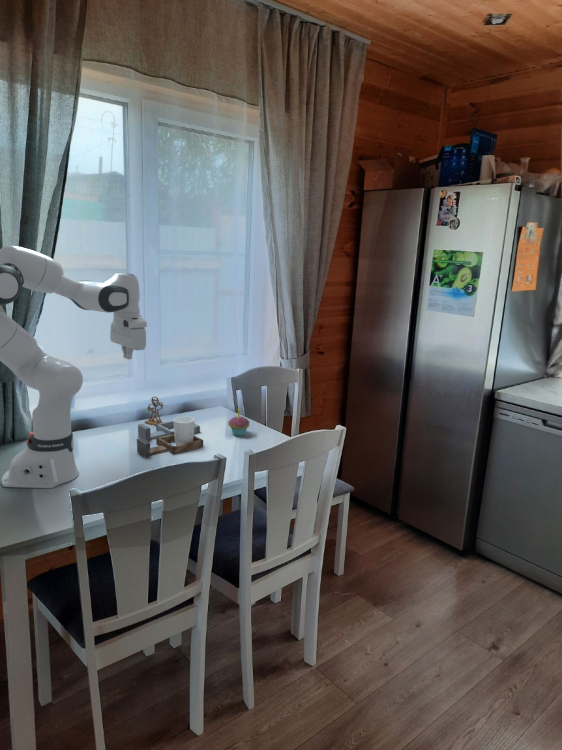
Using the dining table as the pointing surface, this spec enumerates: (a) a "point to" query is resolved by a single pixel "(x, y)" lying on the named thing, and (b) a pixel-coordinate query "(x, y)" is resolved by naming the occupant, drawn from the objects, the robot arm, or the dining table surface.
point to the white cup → (183, 430)
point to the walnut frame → (166, 445)
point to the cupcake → (238, 425)
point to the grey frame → (159, 430)
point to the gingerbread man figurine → (151, 420)
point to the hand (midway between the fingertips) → (127, 358)
